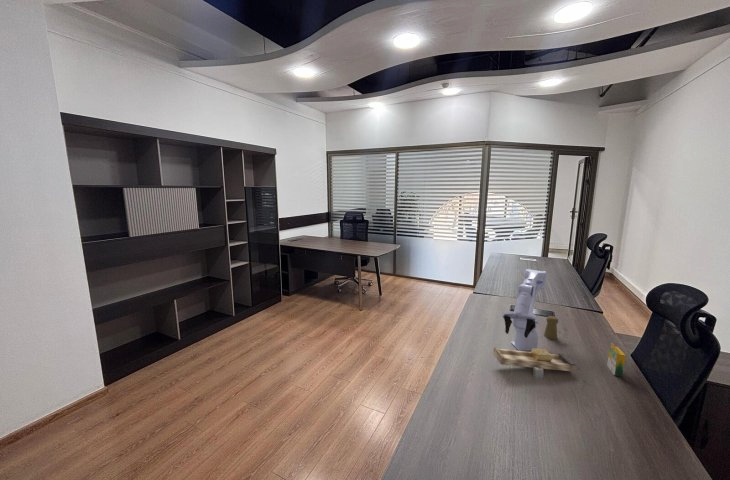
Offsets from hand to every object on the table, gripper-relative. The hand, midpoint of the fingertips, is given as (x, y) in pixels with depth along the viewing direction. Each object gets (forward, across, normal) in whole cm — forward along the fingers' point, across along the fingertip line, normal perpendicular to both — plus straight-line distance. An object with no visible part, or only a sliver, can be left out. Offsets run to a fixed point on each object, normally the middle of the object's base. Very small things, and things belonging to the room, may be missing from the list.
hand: (515, 334), depth 126 cm
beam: (+6, +4, +12) cm, 14 cm away
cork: (-21, +4, +40) cm, 45 cm away
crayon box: (-7, +30, +32) cm, 45 cm away
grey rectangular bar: (+8, +4, +14) cm, 17 cm away
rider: (+3, +7, +13) cm, 16 cm away
